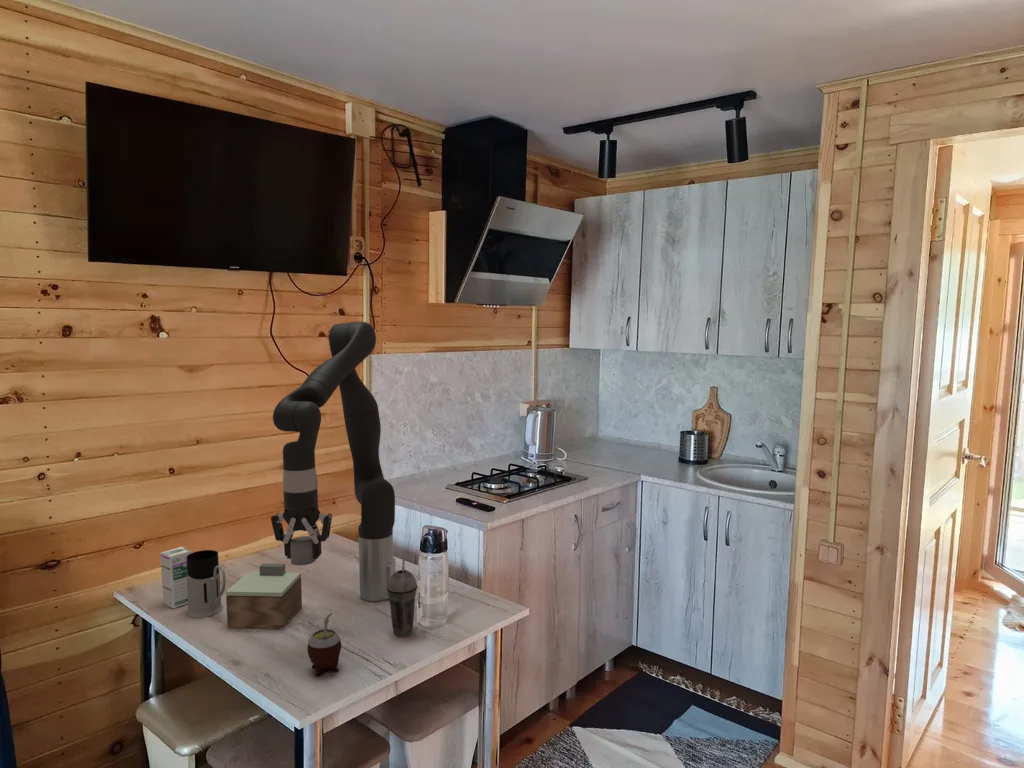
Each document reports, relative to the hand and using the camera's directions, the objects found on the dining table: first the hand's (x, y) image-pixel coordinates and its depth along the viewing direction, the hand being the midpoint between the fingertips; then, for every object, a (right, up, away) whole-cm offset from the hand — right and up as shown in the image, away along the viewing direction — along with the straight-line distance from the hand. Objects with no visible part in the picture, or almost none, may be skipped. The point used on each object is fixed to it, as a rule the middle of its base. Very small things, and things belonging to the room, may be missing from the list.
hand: (303, 557), depth 158 cm
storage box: (-14, -19, +16) cm, 29 cm away
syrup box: (-41, -19, +24) cm, 51 cm away
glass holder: (-30, -19, +18) cm, 40 cm away
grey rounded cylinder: (0, -1, 0) cm, 1 cm away
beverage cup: (+22, -20, +7) cm, 31 cm away
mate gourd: (+8, -22, -10) cm, 26 cm away
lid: (-14, -11, +15) cm, 24 cm away
